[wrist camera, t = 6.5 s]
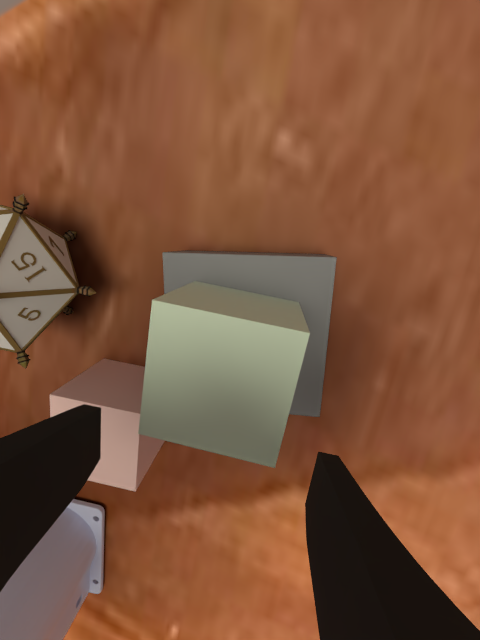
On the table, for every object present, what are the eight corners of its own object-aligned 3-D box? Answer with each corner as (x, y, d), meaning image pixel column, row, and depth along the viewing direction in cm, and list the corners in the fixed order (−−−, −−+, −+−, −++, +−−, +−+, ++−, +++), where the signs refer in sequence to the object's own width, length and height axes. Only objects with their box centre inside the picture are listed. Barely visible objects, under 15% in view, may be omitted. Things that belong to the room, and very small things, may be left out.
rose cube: (168, 434, 21) (135, 491, 16) (102, 420, 21) (52, 471, 17) (174, 372, 20) (140, 414, 15) (104, 357, 20) (49, 394, 15)
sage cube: (275, 396, 15) (274, 467, 10) (182, 374, 15) (138, 433, 11) (298, 302, 14) (309, 332, 9) (195, 281, 14) (152, 299, 9)
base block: (311, 381, 19) (319, 417, 15) (190, 371, 20) (169, 403, 16) (323, 253, 17) (336, 257, 13) (187, 250, 18) (162, 252, 14)
